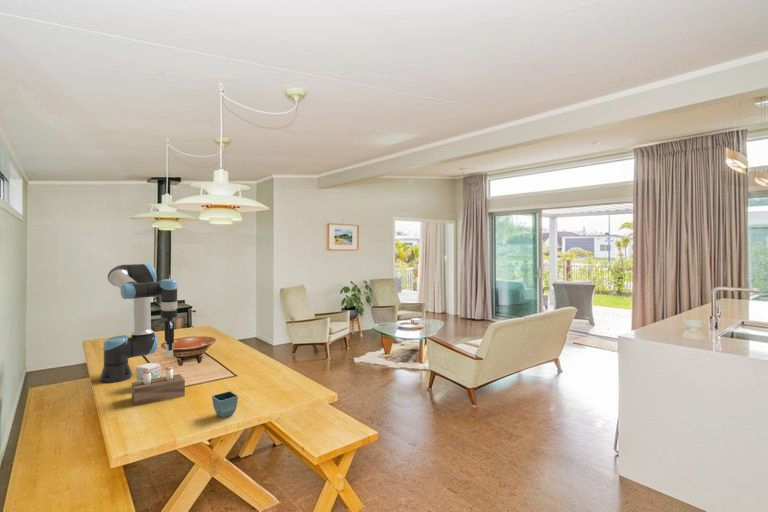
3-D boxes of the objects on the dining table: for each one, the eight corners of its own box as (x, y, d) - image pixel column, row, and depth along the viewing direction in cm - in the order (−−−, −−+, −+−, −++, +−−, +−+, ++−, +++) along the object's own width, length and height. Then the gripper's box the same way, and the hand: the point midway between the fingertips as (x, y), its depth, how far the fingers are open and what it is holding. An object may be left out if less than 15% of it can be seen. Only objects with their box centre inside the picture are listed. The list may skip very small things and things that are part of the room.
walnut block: (131, 397, 205) (131, 382, 204) (179, 388, 218) (179, 374, 218) (134, 405, 195) (134, 389, 195) (184, 395, 208) (184, 380, 208)
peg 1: (143, 386, 204) (142, 371, 203) (150, 385, 205) (150, 369, 205) (143, 388, 201) (143, 372, 201) (151, 387, 203) (151, 371, 203)
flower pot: (211, 414, 187) (211, 395, 186) (230, 409, 193) (230, 390, 192) (219, 421, 180) (219, 401, 180) (238, 415, 186) (238, 396, 186)
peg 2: (165, 382, 210) (165, 367, 209) (172, 381, 211) (172, 366, 211) (166, 384, 207) (166, 369, 207) (173, 383, 209) (173, 368, 209)
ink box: (147, 390, 215) (147, 368, 214) (135, 388, 218) (135, 366, 217) (161, 385, 223) (161, 364, 223) (149, 383, 226) (149, 362, 225)
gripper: (158, 308, 212) (158, 352, 213) (163, 312, 199) (163, 360, 200) (174, 306, 216) (174, 350, 217) (180, 311, 204) (180, 357, 205)
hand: (169, 355), depth 209 cm, fingers open, 3 cm apart
